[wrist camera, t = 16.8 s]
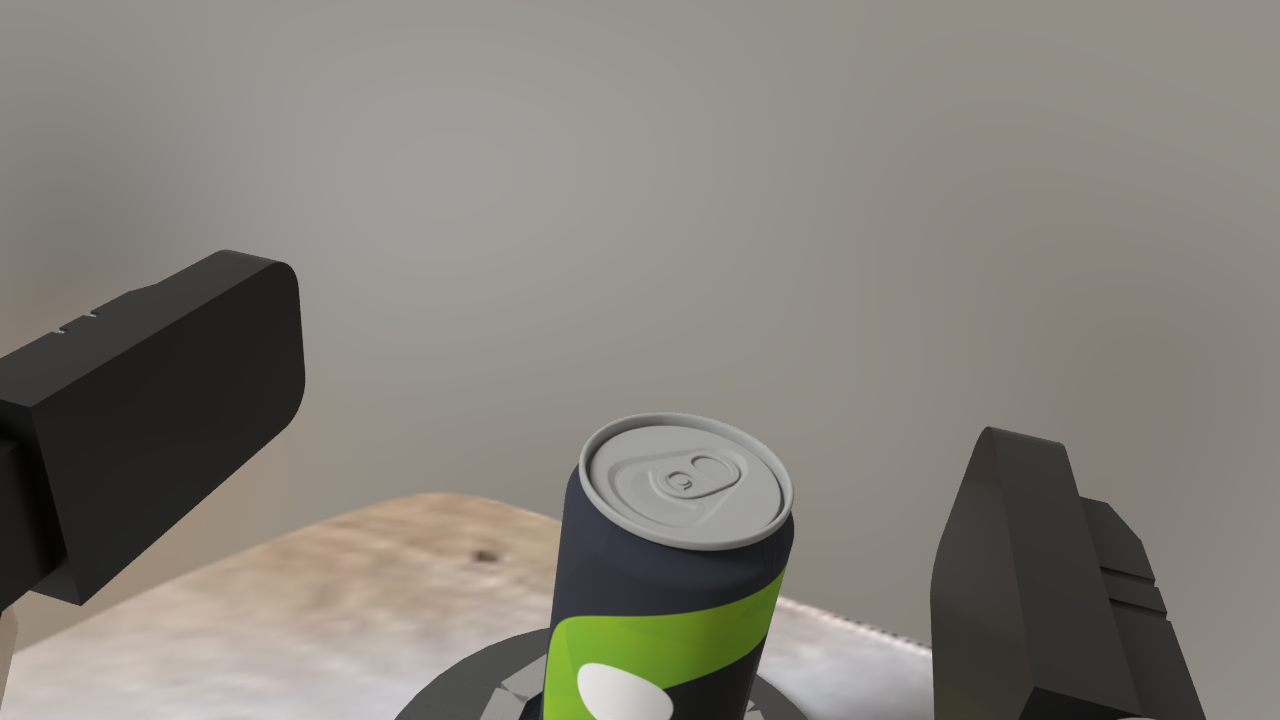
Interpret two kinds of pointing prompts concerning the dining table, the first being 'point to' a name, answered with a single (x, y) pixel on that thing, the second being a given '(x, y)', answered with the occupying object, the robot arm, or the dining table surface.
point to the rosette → (531, 687)
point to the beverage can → (666, 571)
